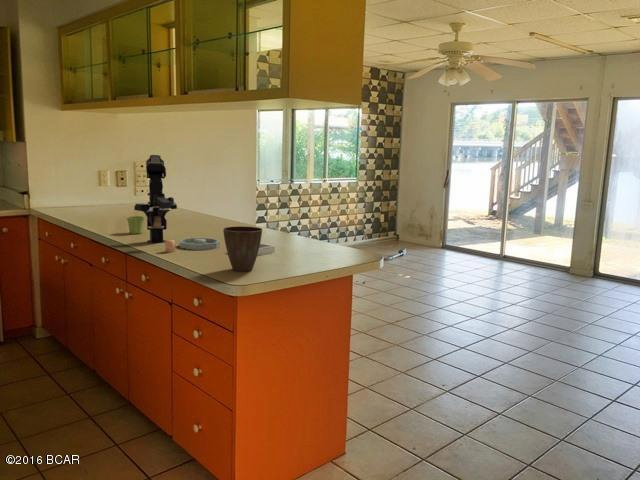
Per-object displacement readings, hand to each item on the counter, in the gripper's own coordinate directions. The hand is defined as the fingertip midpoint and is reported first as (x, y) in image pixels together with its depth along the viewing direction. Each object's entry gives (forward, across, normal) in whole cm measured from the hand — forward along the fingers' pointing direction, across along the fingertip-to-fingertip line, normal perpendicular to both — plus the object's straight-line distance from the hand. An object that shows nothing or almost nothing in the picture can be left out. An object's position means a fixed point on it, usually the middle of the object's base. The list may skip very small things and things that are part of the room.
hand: (156, 225), depth 242 cm
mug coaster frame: (+11, +26, -35) cm, 45 cm away
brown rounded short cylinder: (+1, 0, 0) cm, 1 cm away
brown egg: (+11, 0, -10) cm, 15 cm away
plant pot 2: (+11, -1, -58) cm, 59 cm away
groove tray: (+11, +18, -8) cm, 22 cm away
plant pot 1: (+11, +17, +44) cm, 48 cm away
